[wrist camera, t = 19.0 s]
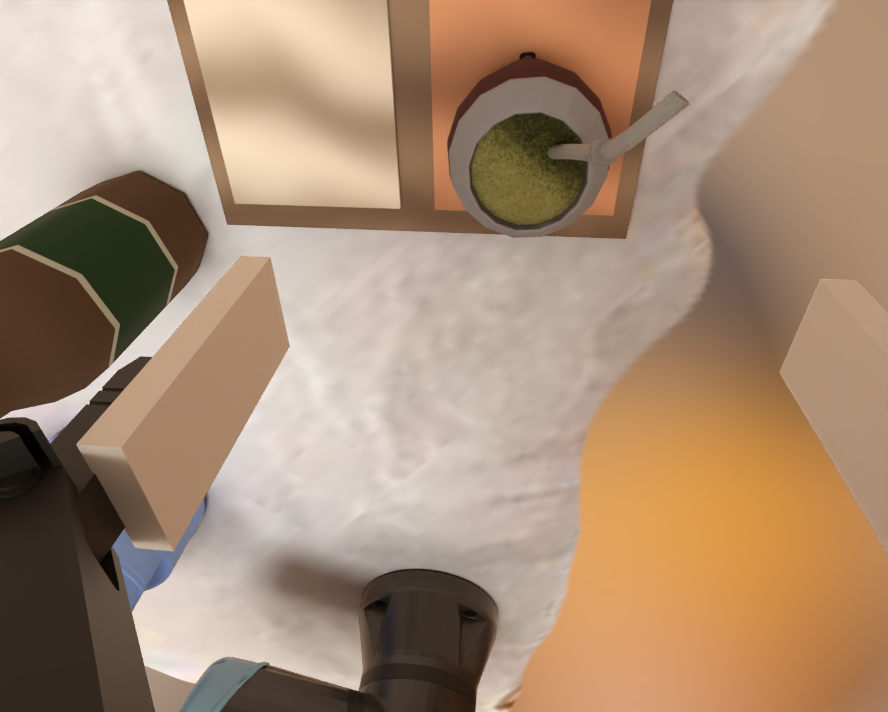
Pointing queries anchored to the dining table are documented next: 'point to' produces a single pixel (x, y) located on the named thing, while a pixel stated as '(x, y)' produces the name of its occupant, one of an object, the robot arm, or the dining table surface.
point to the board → (394, 100)
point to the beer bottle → (89, 284)
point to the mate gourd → (537, 147)
